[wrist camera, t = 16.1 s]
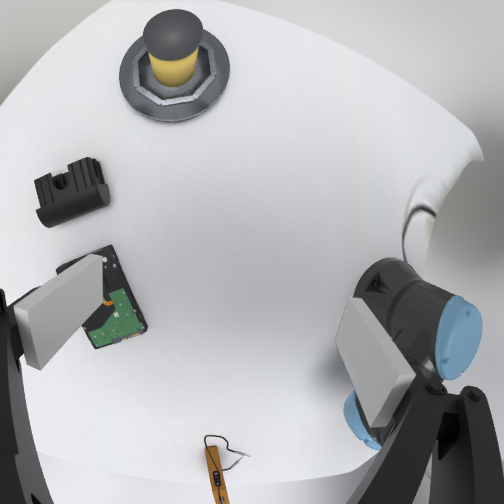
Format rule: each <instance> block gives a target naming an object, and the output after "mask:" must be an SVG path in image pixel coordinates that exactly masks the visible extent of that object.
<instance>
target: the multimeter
mask: <svg viewBox="0 0 504 504" xmlns="http://www.w3.org/2000/svg"><path fill="white" fill-rule="evenodd" d="M207 436H214V437H220V438H223V437H221V436H215V435H207ZM207 436H205V438H204V442H205V446H206V448H205V453H206V459H207V465H208V471H209V476H210V482H211V487H212V491H213V495H214V499H215V502H216V504H229V499H228V495H227V490H226V486H225V481H224V477H223V472H222V471H224V470H222V468H221V463H220V459H219V454H218V449H217V446H215V447H207V445H206V440H205V439H206V437H207ZM223 439H224V440H225V441H226V442H227V450H229V449H228V441H227V440H226V439H225V438H223ZM229 451H232V450H229ZM232 452H234V453H237V454H240V455H243V456H244V455H245V454H243V453H240V452H236V451H232ZM245 456H248V455H245ZM249 457H250V456H249ZM242 458H243V457H242ZM242 458H241V459H242ZM241 459H240V460H241ZM240 460H239V461H240ZM239 461H237V462H236V463H235V464H234V465H232V467H231V468H233V467H234V466H235V465H236V464H237V463H239ZM231 468H229V469H231ZM229 469H226V470H229Z"/></svg>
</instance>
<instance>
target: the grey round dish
mask: <svg viewBox="0 0 504 504" xmlns="http://www.w3.org/2000/svg"><path fill="white" fill-rule="evenodd" d="M229 72H230V63H229V58H228V55H227V52H226V50H225V48H224V46H223V45H222V44H221V42H220V41H219V40H218V39H217V38H216V37H215V36H214V35H212V34H211V33H209V32H208V31H206V30H204V29H203V34H202V40H201V43H200V45H199V47H198V53H197V60H196V67H195V72H194V75H193V77H192V78H191V79H190V80H189V81H188V82H187V83H186V84H184V85H182V86H179V87H166V86H163V85H161V84H160V83H158V82H157V80H156V79H155V77H154V74H153V70H152V66H151V61H150V57H149V53H148V51H147V49H146V47H145V44H144V40H143V36H142V37H140V38H139V39H138V40H137V41H135V42H134V43H133V44H132V46H131V47H130V48H129V49H128V51H127V52H126V54H125V56H124V58H123V60H122V63H121V66H120V72H119V81H120V87H121V90H122V93H123V95H124V97H125V98H126V100H127V101H128V103H129V104H130V105H131V106H132V107H133V108H134V109H135V110H136V111H138V112H139V113H141V114H142V115H144V116H146V117H149V118H151V119H155V120H160V121H174V122H181V121H184V120H185V119H188V118H191V117H194V116H196V115H198V114H200V113H202V112H203V111H205V110H207V109H208V108H209V107H210V106H212V105H213V104H214V103H215V102H216V101H217V100H218V98H219V97H220V96H221V94H222V92H223V91H224V89H225V87H226V84H227V82H228V78H229Z"/></svg>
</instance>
